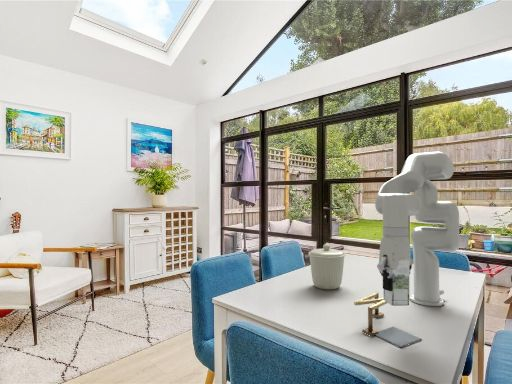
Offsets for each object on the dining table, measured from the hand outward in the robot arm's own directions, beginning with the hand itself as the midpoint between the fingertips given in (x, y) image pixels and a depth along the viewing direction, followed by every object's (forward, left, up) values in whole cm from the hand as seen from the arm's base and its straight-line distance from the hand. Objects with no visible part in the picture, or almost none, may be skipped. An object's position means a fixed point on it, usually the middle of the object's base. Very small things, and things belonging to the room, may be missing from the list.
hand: (396, 287), depth 97 cm
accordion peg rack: (-2, -11, -16) cm, 19 cm away
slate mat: (0, 0, -16) cm, 16 cm away
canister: (-18, -52, -16) cm, 57 cm away
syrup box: (0, 0, -5) cm, 5 cm away
